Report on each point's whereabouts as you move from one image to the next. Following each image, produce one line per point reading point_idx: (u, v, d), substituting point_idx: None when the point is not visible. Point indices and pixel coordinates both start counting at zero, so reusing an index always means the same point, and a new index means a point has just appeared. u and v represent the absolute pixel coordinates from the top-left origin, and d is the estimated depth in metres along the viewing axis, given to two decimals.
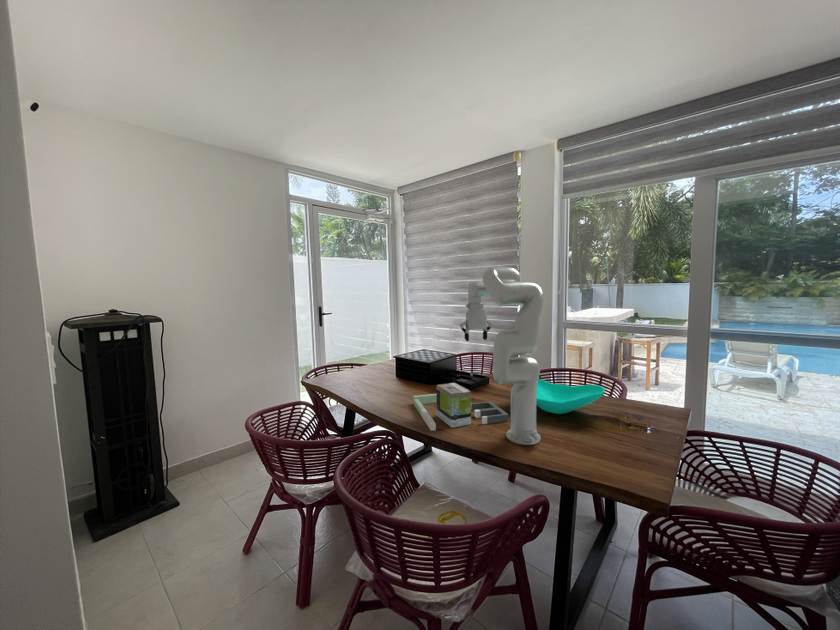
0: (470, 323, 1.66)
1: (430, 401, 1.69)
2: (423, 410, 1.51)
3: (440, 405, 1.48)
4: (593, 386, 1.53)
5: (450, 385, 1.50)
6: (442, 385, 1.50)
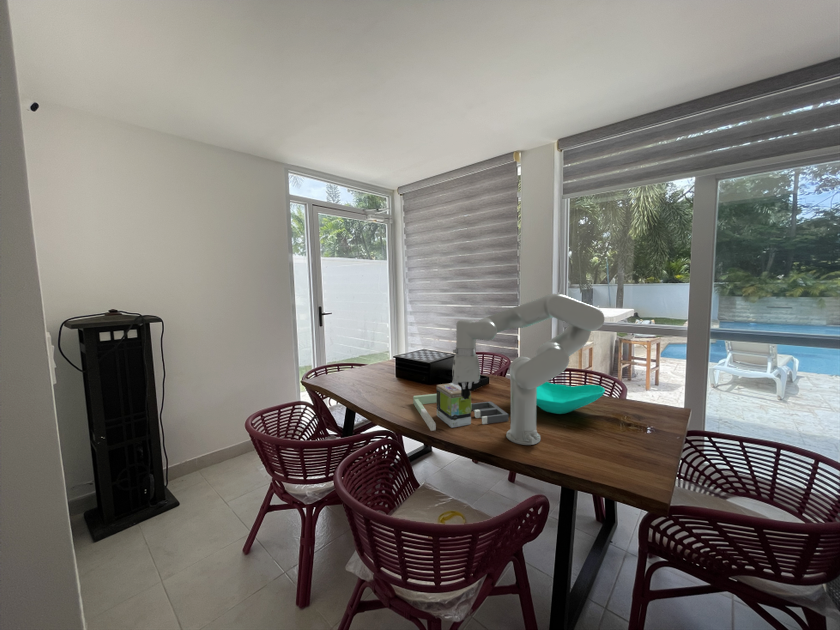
0: (458, 374, 1.26)
1: (430, 401, 1.69)
2: (423, 410, 1.51)
3: (440, 405, 1.48)
4: (593, 386, 1.53)
5: (450, 385, 1.50)
6: (442, 385, 1.50)
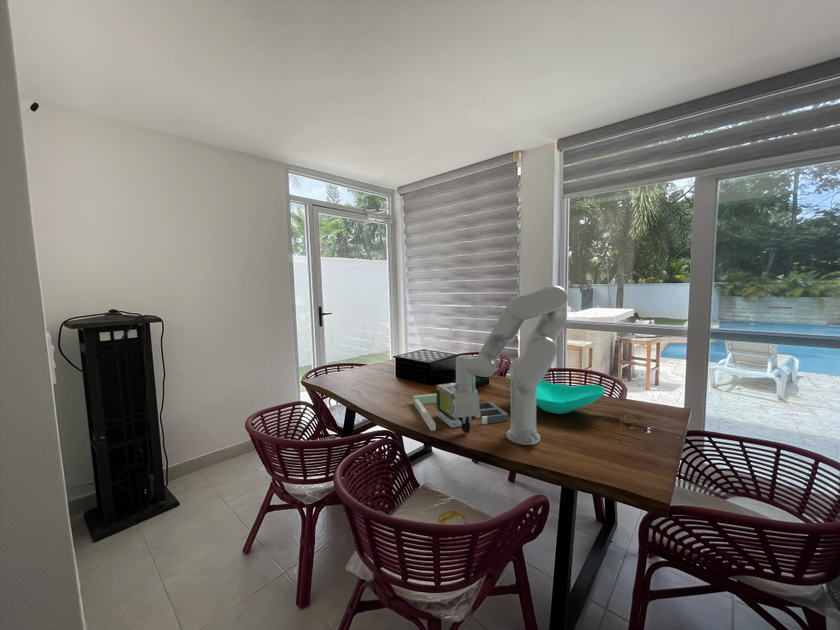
0: (458, 410, 1.28)
1: (430, 401, 1.69)
2: (423, 410, 1.51)
3: (440, 405, 1.48)
4: (593, 386, 1.53)
5: (450, 385, 1.50)
6: (442, 385, 1.50)
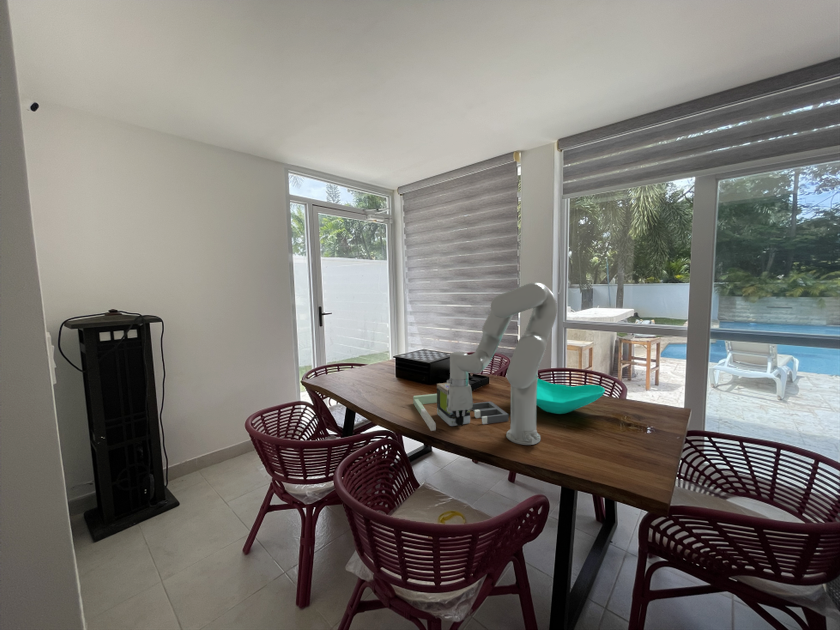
0: (452, 404, 1.35)
1: (430, 401, 1.69)
2: (423, 410, 1.51)
3: (440, 404, 1.49)
4: (593, 386, 1.53)
5: None
6: (442, 384, 1.52)
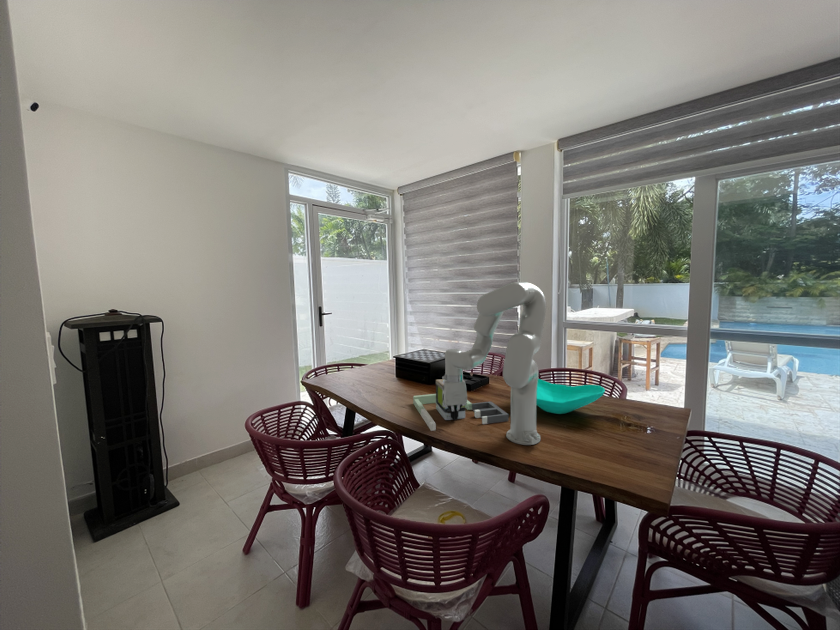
0: (447, 399, 1.41)
1: (430, 401, 1.69)
2: (423, 410, 1.51)
3: (438, 399, 1.56)
4: (593, 386, 1.53)
5: None
6: (441, 380, 1.58)
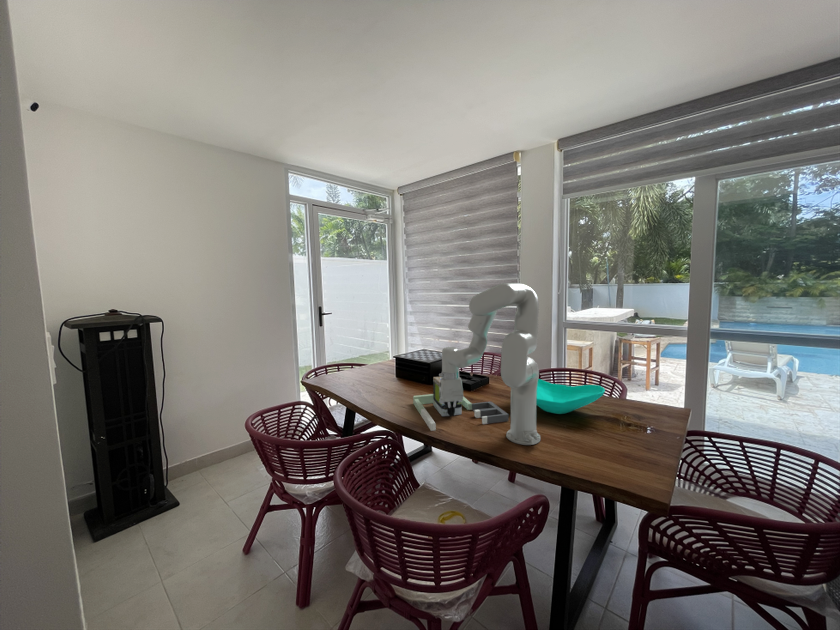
0: (444, 395, 1.46)
1: (430, 401, 1.69)
2: (423, 410, 1.51)
3: (435, 396, 1.60)
4: (593, 386, 1.53)
5: None
6: (438, 377, 1.63)
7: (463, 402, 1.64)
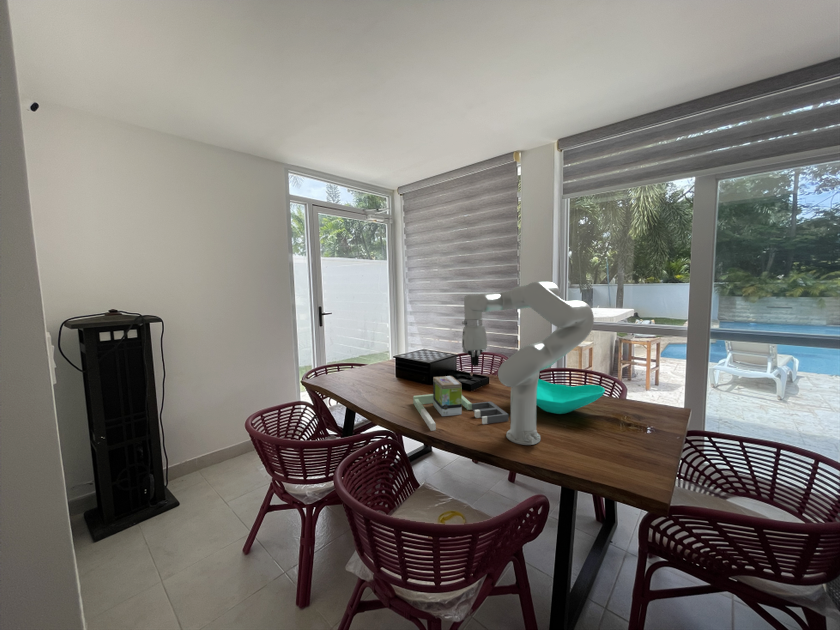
0: (468, 343, 1.40)
1: (430, 401, 1.69)
2: (423, 410, 1.51)
3: (435, 396, 1.60)
4: (593, 386, 1.53)
5: (445, 378, 1.62)
6: (438, 377, 1.63)
7: (463, 402, 1.64)
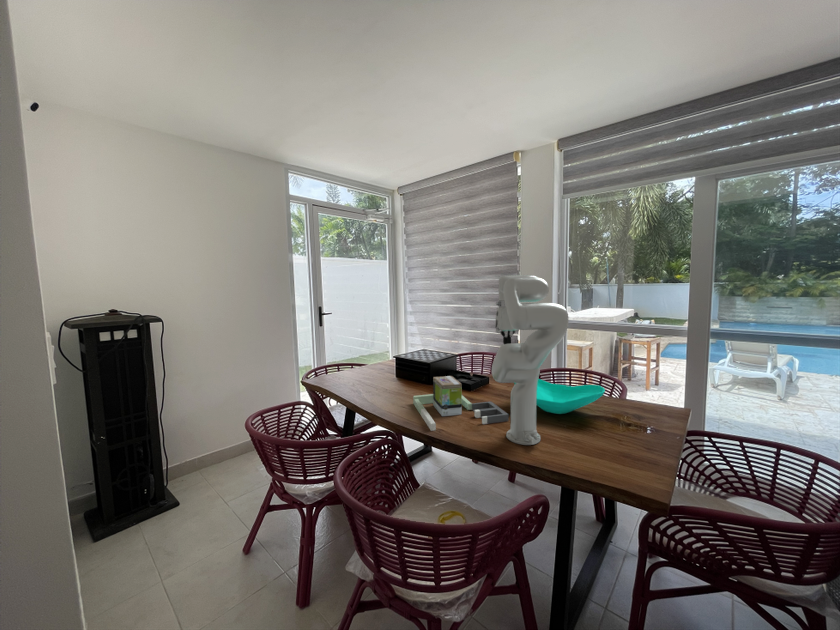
0: (501, 323, 1.44)
1: (430, 401, 1.69)
2: (423, 410, 1.51)
3: (435, 396, 1.60)
4: (593, 386, 1.53)
5: (445, 378, 1.62)
6: (438, 377, 1.63)
7: (463, 402, 1.64)
